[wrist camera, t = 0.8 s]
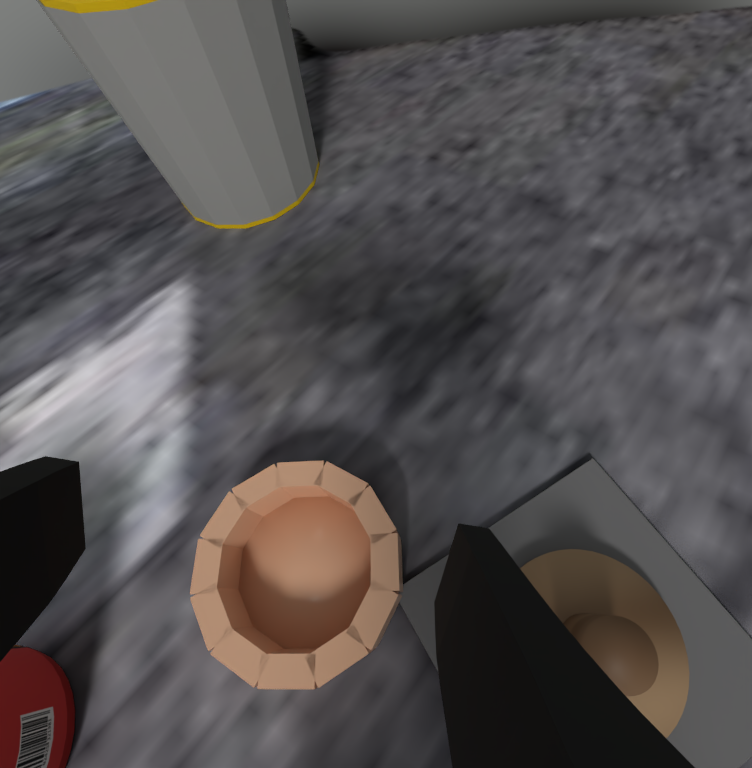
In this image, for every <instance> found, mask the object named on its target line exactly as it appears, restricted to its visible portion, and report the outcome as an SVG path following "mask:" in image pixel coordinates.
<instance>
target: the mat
mask: <svg viewBox="0 0 752 768" xmlns="http://www.w3.org/2000/svg"><path fill="white" fill-rule="evenodd" d="M489 529H490V530H491V531H492V533H493V534H494V535H495V536H496V538H497V539H498V540H499V542H500V543H501V544H502V545H503V547H504V548H505V549H506V551H507V552H508V553H509V555H510V556H511V557H512V559H513V560H514V561H515V563H516V564H517V565H518V567H519V568H521V567H522V566H523V565H524V564H526V563H527V562H529V561H531V560H533V559H534V558H536V557H539V556H541V555H544V554H546V553H549V552H553V551H557V550H566V549H581V550H587V551H593V552H596V553H600V554H603V555H606V556H608V557H611V558H613V559H615V560H617V561H619V562H621V563H623V564H624V565H626V566H628V567H629V568H631V569H632V570H633V571H635V572H636V573H638V574H639V575H640V576H641V577H642V578H643V579H644V580H646V581H647V582H648V583H649V584H650V585H651V586H652V587H653V588H654V590H655V591H656V592H657V593H658V594H659V595H660V597H661V598H662V599H663V601H664V602H665V603H666V605H667V606H668V608H669V610H670V611H671V613H672V615H673V616H674V618H675V620H676V623H677V625H678V627H679V629H680V631H681V634H682V637H683V640H684V643H685V647H686V652H687V656H688V664H689V690H688V696H687V701H686V704H685V708H684V711H683V714H682V716H681V718H680V720H679V722H678V724H677V726H676V727H675V728H674V730H673V731H672V732H671V734H670V735H669V736H668V737H667V738H666V739H667V740H668V741H669V742H670V743H671V744H672V745H673V746H674V747H675V748H676V749H677V750H678V751H679V752H680V753H681V754H682V755H683V756H684V757H685V758H686V759H687V760H688V761H689V762H690V763H691V764H692V765H693V766H694V767H695V768H739V767H740V766H741V765H743V764H744V763H745V762H746V761H747V760H749V759H750V758H751V757H752V639H751V638H750V637H749V635H748V634H747V633H746V632H745V631H744V630H743V629H742V627H741V626H740V625H739V624H738V623H737V622H736V621H735V619H734V618H733V617H732V616H731V615H730V614H729V613H728V611H727V610H726V609H725V608H724V607H723V606H722V605H721V603H720V602H719V601H718V600H717V599H716V598H715V597H714V596H713V594H712V593H711V592H710V591H709V590H708V589H707V588H706V586H705V585H704V584H703V583H702V582H701V581H700V580H699V578H698V577H697V576H696V575H695V574H694V573H693V572H692V570H691V569H690V568H689V567H688V566H687V565H686V564H685V562H684V561H683V560H682V559H681V558H680V557H679V556H678V555H677V553H676V552H675V551H674V550H673V549H672V548H671V547H670V545H669V544H668V543H667V542H666V541H665V540H664V539H663V537H662V536H661V535H660V534H659V533H658V532H657V531H656V529H655V528H654V527H653V526H652V525H651V524H650V523H649V521H648V520H647V519H646V518H645V517H644V516H643V515H642V513H641V512H640V511H639V510H638V509H637V508H636V507H635V506H634V504H633V503H632V502H631V501H630V500H629V499H628V498H627V496H626V495H625V494H624V493H623V492H622V491H621V490H620V488H619V487H618V486H617V485H616V484H615V483H614V482H613V480H612V479H611V478H610V477H609V476H608V475H607V474H606V472H605V471H604V470H603V469H602V468H601V467H600V466H599V465H598V463H597V462H596V461H595V460H594V459H591V460H590V461H588V462H587V463H585V464H584V465H582V466H581V467H579V468H578V469H576V470H575V471H573V472H572V473H570V474H569V475H567V476H566V477H564V478H562V479H561V480H559V481H558V482H556V483H555V484H553V485H552V486H550V487H549V488H547V489H546V490H544V491H543V492H541V493H540V494H538V495H537V496H535V497H534V498H532V499H531V500H529V501H528V502H526V503H525V504H523V505H522V506H520V507H519V508H517V509H516V510H514V511H513V512H511V513H510V514H508V515H507V516H505V517H504V518H502V519H501V520H499V521H498V522H496V523H495V524H493V525H492V526H490V527H489ZM448 556H449V554H448V555H447V556H445V557H444V558H442V559H441V560H439V561H438V562H436V563H435V564H433V565H432V566H430V567H429V568H427V569H426V570H424V571H423V572H421V573H420V574H418V575H417V576H415V577H414V578H412V579H411V580H409V581H408V582H406V583H405V584H403V592H398V593H399V594H400V595H402V598H401V600H400V602H399V603H400V605H401V606H402V608H403V610H404V612H405V614H406V615H407V617H408V619H409V621H410V623H411V624H412V626H413V628H414V630H415V632H416V633H417V635H418V637H419V639H420V641H421V643H422V644H423V646H424V648H425V650H426V652H427V653H428V655H429V657H430V659H431V661H432V662H433V664H434V666H435V668H436V670H437V671H438V665H437V658H436V639H435V609H434V601H435V598H436V595H437V592H438V588H439V585H440V582H441V579H442V575H443V572H444V569H445V566H446V562H447V559H448Z"/></svg>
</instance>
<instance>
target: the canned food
mask: <svg viewBox="0 0 752 768" xmlns="http://www.w3.org/2000/svg"><path fill="white" fill-rule="evenodd" d="M74 730H75V706H74V699H73V693H72V690H71V687H70V684H69V681H68V678H67V677H66V675H65V673H64V672H63V670H62V668H61V667H60V666H59V665H58V664H57V663H56V662H55V661H54V660H53V659H52V658H51V657H49V656H47V655H45V654H44V653H42V652H40V651H37V650H34V649H32V648H28V647H23V646H19V645H14V646H13V647H12V649H11V650H10V651H9V652H8V653H7V655H6V656H5V657H4V658H3V659H2V660H1V662H0V768H65V767H66V764H67V761H68V758H69V754H70V751H71V747H72V741H73V736H74Z"/></svg>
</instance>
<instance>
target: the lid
mask: <svg viewBox="0 0 752 768" xmlns="http://www.w3.org/2000/svg"><path fill="white" fill-rule="evenodd" d="M520 569H521V571H522V572H523V573H524V574H525V576H526V577H527V578H528V580H529V581H530V582H531V584H532V585H533V586H534V588H535V589H536V590H537V591H538V593H539V594H540V595H541V597H542V598H543V599H544V600H545V602H546V603H547V604H548V605H549V607H550V608H551V609H552V610H553V612H554V613H555V614H556V615H557V617H558V618H559V619H560V620H561V622H562V623H563V624H564V625H565V627H566V628H567V629H568V630H569V631H570V633H571V634H572V635H573V636H574V637H575V639H576V640H577V641H578V642H579V643H580V645H581V646H582V647H583V648H584V649H585V651H586V652H587V653H588V654H589V655H590V656H591V657H592V658H593V660H594V661H595V662H596V663H597V664H598V665H599V666H600V668H601V669H602V670H603V671H604V672H605V673H606V674H607V676H608V677H609V678H610V679H611V680H612V681H613V682H614V684H615V685H616V686H617V687H618V688H619V689H620V690H621V691H622V692H623V694H624V695H625V696H626V697H627V698H628V699H629V700H630V701H631V702H632V703H633V704H634V705H635V706H636V708H637V709H638V710H639V711H640V712H641V713H642V714H643V715H644V716H645V717H646V718H647V719H648V720H649V721H650V722H651V723H652V724H653V725H654V726H655V727H656V728H657V729H658V730H659V731H660V732H661V733H662V734H663V735H664V737H665V738H667V737H668V736H669V735H670V734H671V732H672V731H673V730H674V728H675V727H676V726H677V724H678V722H679V720H680V718H681V716H682V714H683V711H684V708H685V704H686V701H687V696H688V690H689V664H688V656H687V652H686V647H685V643H684V640H683V637H682V634H681V631H680V629H679V627H678V625H677V623H676V620H675V618H674V616H673V615H672V613H671V611H670V610H669V608H668V606H667V605H666V603H665V602H664V601H663V599H662V598H661V597H660V595H659V594H658V593H657V592H656V591H655V590H654V588H653V587H652V586H651V585H650V584H649V583H648V582H647V581H646V580H644V579H643V578H642V577H641V576H640V575H639V574H638V573H636V572H635V571H633V570H632V569H631V568H629V567H628V566H626V565H624V564H623V563H621V562H619V561H617V560H615V559H613V558H611V557H608V556H606V555H603V554H600V553H596V552H593V551H587V550H581V549H566V550H557V551H553V552H549V553H546V554H544V555H541V556H539V557H536V558H534V559H533V560H531V561H529V562H527V563H526V564H524V565H523V566H522V567H521V568H520Z"/></svg>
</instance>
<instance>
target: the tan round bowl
mask: <svg viewBox="0 0 752 768" xmlns="http://www.w3.org/2000/svg"><path fill="white" fill-rule="evenodd" d="M232 490H233V493H234V494H233V493H231V492H230V491H229V492H228V494H227V495H226V497H225V498H224V500H223V501H222V503H221V504H220V506H219V507H218V509H217V510H216V512H215V513H214V515H213V516H212V518H211V519H210V521H209V522H208V524H207V525H206V527H205V528H204V530H203V531H202V533H201V534H200V536H201V537H203V538H204V539H198V544H197V550H196V557H195V563H194V570H193V576H192V583H191V589H190V594H196V595H194V596H193V597H191V598H190V600H191V602H192V605H193V608H194V611H195V614H196V617H197V620H198V623H199V626H200V629H201V632H202V635H203V637H204V640H205V643H206V646H207V649H208V651H210V650H213V651H212V652H211V655H212V656H213V657H215V658H216V659H217V660H219V661H220V662H221V663H222V664H224V665H225V666H226V667H228V668H229V669H230V670H232V671H233V672H234V673H235V674H237V675H238V676H239V677H241V678H242V679H243V680H244V681H246V682H247V683H248V684H250V685H251V686H252V687H257V686H258V689H316V688H317V687H318V688H319V687H321V686H322V685H324V684H325V683H327V682H328V681H329V680H331V679H332V678H334V677H335V676H337V675H338V674H340V673H341V672H343V671H344V670H346V669H347V668H349V667H350V666H351V665H353V664H354V663H356V662H357V661H359V660H360V659H362V658H363V657H365V656H366V655H368V654H369V653H370V652H372V651H373V650H374V649H376V647H377V646H378V645H379V643H380V641H381V639H382V637H383V635H384V633H385V631H386V629H387V627H388V625H389V622H390V620H391V618H392V616H393V614H394V612H395V610H396V608H397V606H398V604H399V602H400V600H401V598H402V595H400V594H399V593H398V592H403V573H402V545H401V539H400V535H399V533H398V531H397V530H396V528H395V526H394V524H393V523H392V521H391V519H390V518H389V516H388V514H387V513H386V511H385V509H384V508H383V506H382V504H381V503H380V501H379V499H378V498H377V496H376V494H375V493H374V491H373V489H372V487H371V486H369V484H368V483H367V482H365V481H363V480H361V479H359V478H357V477H355V476H354V475H352V474H350V473H348V472H346V471H344V470H342V469H341V468H339V467H337V466H335V465H333V464H331V463H329V462H326V463H325V462H324V460H322V461H301V462H280V463H277V466H276V465H275V464H273V465H271V466H269V467H268V468H266V469H264V470H263V471H261V472H259V473H258V474H256V475H254V476H253V477H251V478H249V479H248V480H246V481H244V482H242V483H241V484H239V485H237V486H236V487H234V488H232Z"/></svg>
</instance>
